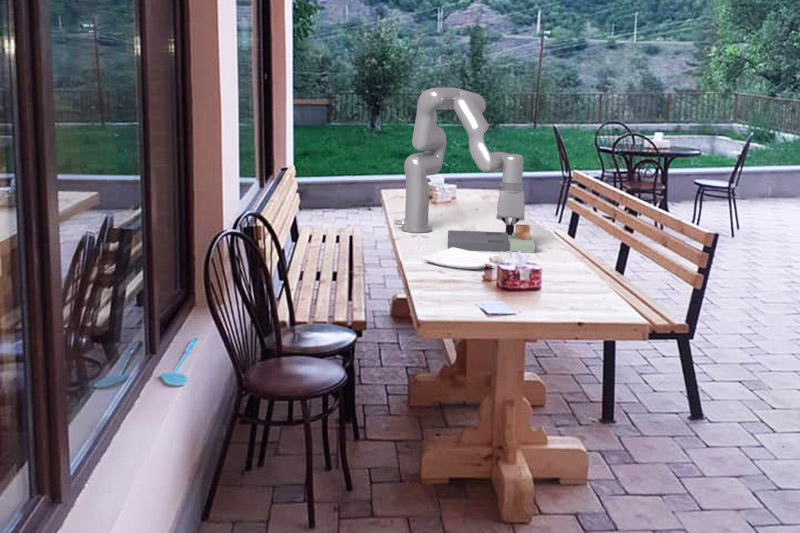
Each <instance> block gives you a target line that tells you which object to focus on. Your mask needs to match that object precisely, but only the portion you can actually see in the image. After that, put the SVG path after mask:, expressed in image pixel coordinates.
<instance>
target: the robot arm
mask: <svg viewBox="0 0 800 533" xmlns="http://www.w3.org/2000/svg"><path fill="white" fill-rule="evenodd" d="M486 104H487V103H486V101H485V99H484V98H483V96H482V95H481V94H479V93H475V92H472V91H468V90H465V89H461V88H457V87H432V88H428V89H426V90H423V92H422V93H421V94H420V95H419V97H418V100H417V106H416V115H415V121H414V128H413V134H412V138H411V143H412V147H413V148H414V149H415V150H417V151H421V152H417V153H413V154H410V155H409V156H407V157H406V159H405V160H404V163H403V169H404V170H403V171H404V176H405V212H404V215H405V217H404V219H394V221H393V222H394V225H396V226H397V225H398V226H400V227H401V228H400V230H401V231H403V232H407V233H418V234H419V233H422V234H423V233H428V232H432V230H433V228H432V227H431V226H429V212H430V211H429V210H430V209H429V207H430V203H429V202H430V185H429V180H428V178H427V176H435V175H436V174H439V172H440V171H441V169H442V168H443V167H442V166H443V163H444V158H445V153H446V152H445V151H446V146H447V135H446V133H445V131H444V129H443V128H441V127H439V126H437V122H438V114H437V110H454V112H455V113H456V115H457V117H458V119H459V121H460V122H461V124H462V126H463V128H464V130H465V131H466V134H467V136H468V147H469V152H470V155H471V157H472V159H473V162H474V164H476V166H477V168H478V169H479V170H480V171H481V172H483V173H485V174H491V173H499V172H502V180H501V183H498V184H497V186H498V188H500V190H499V194H498V198H497V206H496V207H497V209H496V210H497V212H496V213H497V214H496V217H495V218H496V220H498V221H499V220H500V221H502V222H503V223H504V224H505V232H506V233H507V235H510V236H512V233H515V226H516V224H517V223H518V222H521V221H525V218H526V217H525V210H526V209H525V206H526V205H525V204H526V202H525V200H526V198H525V191H523V179H524V178H523V176H524V156H523V155H521V154H516V153H507V152H503V151H495V152H493V151H492V152H490V150H489V149H488V147H487V145H486V143H485V139H484V138H485V137H484V136H485V133H486V132H487V130H488V129H489V124H488V121H487V120H486V119H485V117H484V115H483V113H484V112H485V110H486V106H487V105H486ZM423 151H424V152H423ZM509 218H511V222H510V220H509Z"/></svg>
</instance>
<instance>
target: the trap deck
mask: <svg viewBox="0 0 800 533" xmlns="http://www.w3.org/2000/svg"><path fill="white" fill-rule="evenodd" d="M515 236H516V232H514V233H512V236H510V235H507V233H506V231H504V232H503V231H480V230H479V231H475V230H449V229H448V230H447V249H449V248H452V247H454V248H459V249H464V250H468V251H474V252H495V253H497V252H499V253H500V252H501V251H521V252H520V253H524V252H526V253H528V254H534V253H535V247H536V245H535V243H534V240H533V239H532V236H531V235H530V240H516V237H515ZM501 253H502V252H501Z"/></svg>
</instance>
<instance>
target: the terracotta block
mask: <svg viewBox="0 0 800 533" xmlns="http://www.w3.org/2000/svg"><path fill="white" fill-rule="evenodd" d="M515 233H516V236H515V237H516V240H530V236H531V226H530V224H517V223H516V224H515Z"/></svg>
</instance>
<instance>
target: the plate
mask: <svg viewBox="0 0 800 533" xmlns="http://www.w3.org/2000/svg"><path fill="white" fill-rule="evenodd" d="M497 255H500V254H497V253H486V252H481V251H468V250H464V249H459V248H454V247H452V248H449V249H448V248H446V249H444V250H442V251H438V252H436V253H433V254H430V255H425V256H422V257H421V259H422V260H424V261H425V262H428V263H431V264H435V265H437V266H442V267H446V268H452V269H458V270H459V269H460V270H471V269H476V270H483V269H484V268H483V267H484V263H486V261H488V260H489V258H490V257H492V256H497ZM482 268H483V269H482Z"/></svg>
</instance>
